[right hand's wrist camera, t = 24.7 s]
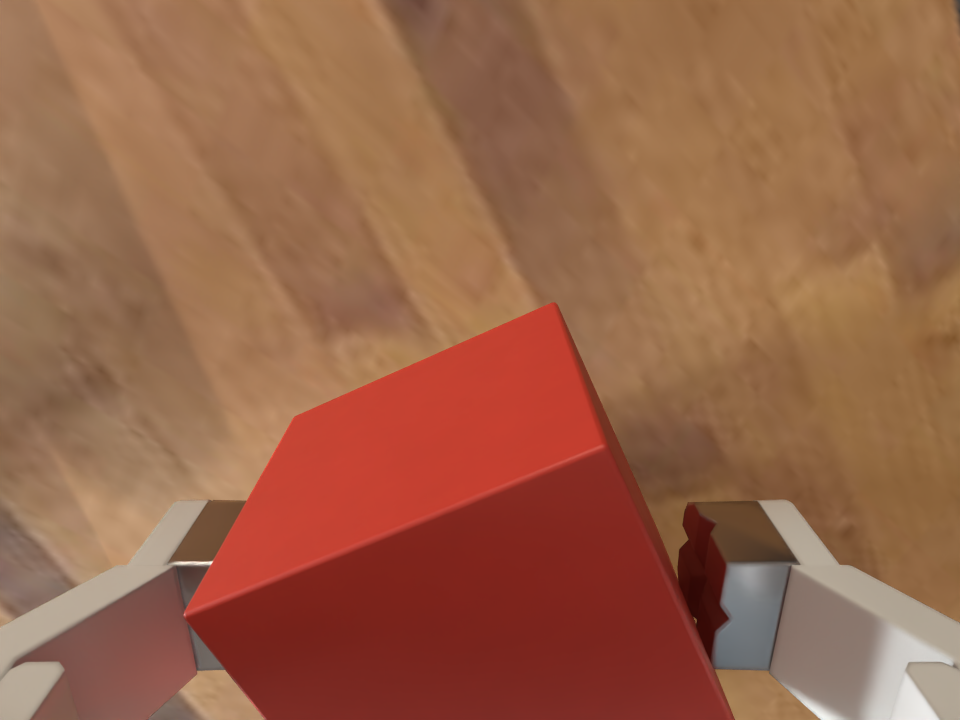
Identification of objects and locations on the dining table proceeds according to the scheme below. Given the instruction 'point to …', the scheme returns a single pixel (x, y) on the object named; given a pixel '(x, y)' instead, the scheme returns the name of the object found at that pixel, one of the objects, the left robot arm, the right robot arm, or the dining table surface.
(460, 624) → the brick
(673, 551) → the dining table surface
